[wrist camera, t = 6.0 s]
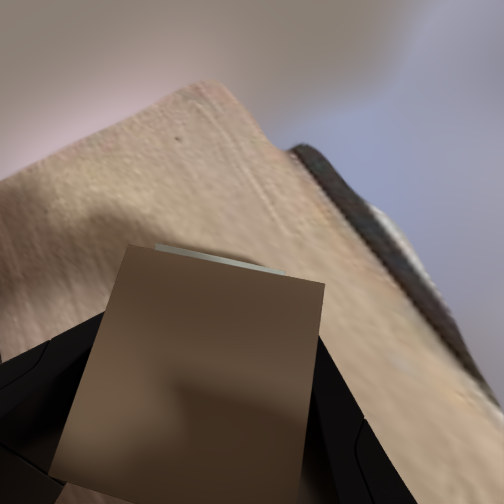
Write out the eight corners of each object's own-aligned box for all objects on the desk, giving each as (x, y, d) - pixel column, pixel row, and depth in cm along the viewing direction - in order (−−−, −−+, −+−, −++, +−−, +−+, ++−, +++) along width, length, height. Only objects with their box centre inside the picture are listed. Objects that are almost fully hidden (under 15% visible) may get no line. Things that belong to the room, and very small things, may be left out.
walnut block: (269, 373, 14) (290, 551, 4) (195, 355, 14) (47, 474, 4) (282, 295, 15) (325, 283, 5) (213, 281, 15) (128, 244, 5)
